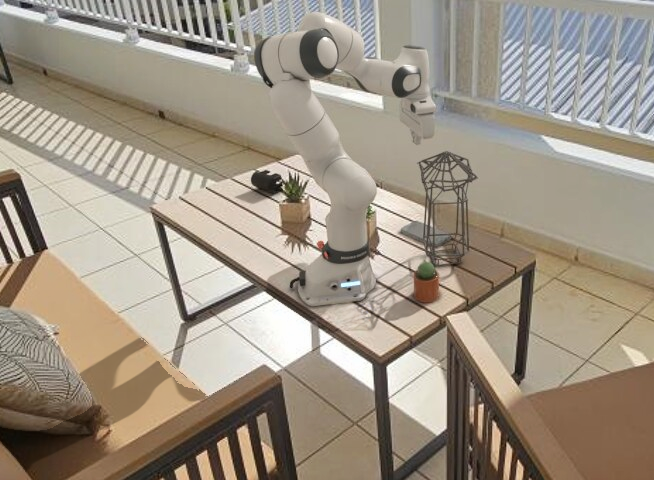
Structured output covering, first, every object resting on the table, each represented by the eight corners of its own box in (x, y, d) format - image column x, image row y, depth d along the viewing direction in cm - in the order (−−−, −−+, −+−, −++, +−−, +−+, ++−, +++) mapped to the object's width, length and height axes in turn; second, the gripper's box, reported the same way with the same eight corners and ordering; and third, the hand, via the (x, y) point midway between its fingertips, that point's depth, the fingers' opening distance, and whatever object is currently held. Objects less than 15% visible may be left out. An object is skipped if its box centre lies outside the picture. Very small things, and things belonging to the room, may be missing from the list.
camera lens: (252, 190, 235) (249, 174, 232) (266, 183, 240) (263, 167, 236) (270, 196, 230) (267, 180, 227) (284, 190, 235) (281, 173, 231)
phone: (435, 248, 196) (435, 244, 196) (399, 232, 206) (399, 228, 205) (452, 238, 201) (452, 235, 201) (416, 223, 211) (416, 219, 210)
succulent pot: (419, 304, 171) (418, 272, 165) (410, 291, 176) (409, 259, 171) (442, 299, 173) (442, 266, 167) (433, 286, 178) (433, 254, 173)
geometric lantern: (418, 247, 197) (415, 143, 179) (466, 243, 198) (469, 140, 180) (424, 273, 184) (422, 164, 166) (476, 269, 185) (480, 161, 167)
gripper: (393, 92, 195) (395, 134, 202) (418, 111, 179) (419, 155, 186) (412, 90, 197) (413, 131, 204) (438, 108, 181) (438, 152, 188)
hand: (416, 143), depth 195 cm, fingers closed
